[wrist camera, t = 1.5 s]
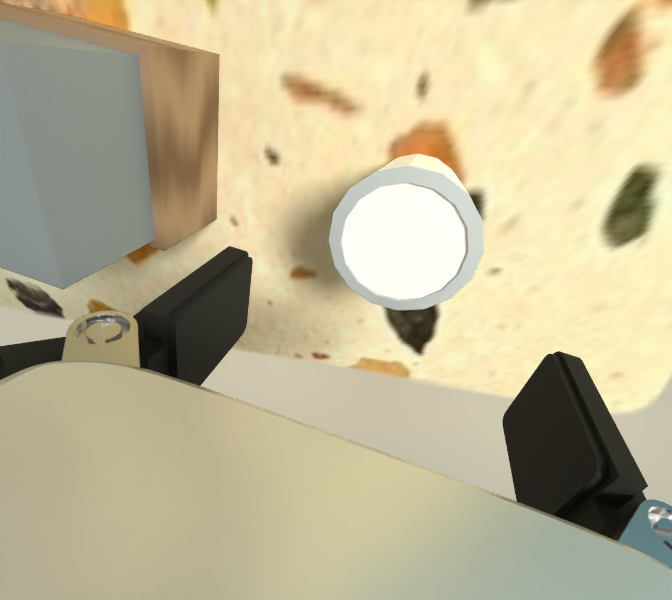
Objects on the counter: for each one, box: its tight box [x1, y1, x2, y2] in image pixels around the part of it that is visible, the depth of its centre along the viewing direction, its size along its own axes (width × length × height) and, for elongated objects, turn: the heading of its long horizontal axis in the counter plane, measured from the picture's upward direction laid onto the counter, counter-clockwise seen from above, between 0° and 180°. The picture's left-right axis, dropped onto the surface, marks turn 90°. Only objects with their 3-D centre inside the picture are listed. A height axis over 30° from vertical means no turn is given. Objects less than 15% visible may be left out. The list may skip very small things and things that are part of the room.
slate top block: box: [0, 18, 155, 289], centre depth 16 cm, size 9×9×6 cm
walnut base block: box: [0, 3, 219, 251], centre depth 21 cm, size 10×10×6 cm
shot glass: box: [329, 154, 483, 310], centre depth 19 cm, size 7×7×7 cm
